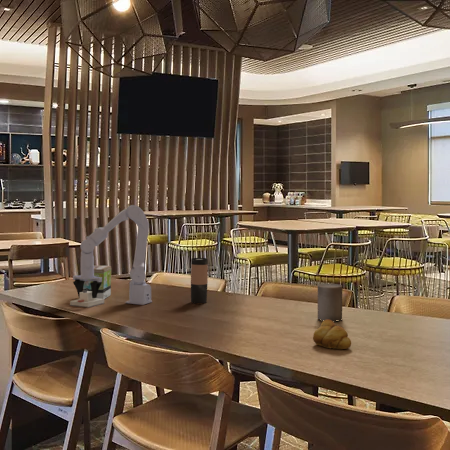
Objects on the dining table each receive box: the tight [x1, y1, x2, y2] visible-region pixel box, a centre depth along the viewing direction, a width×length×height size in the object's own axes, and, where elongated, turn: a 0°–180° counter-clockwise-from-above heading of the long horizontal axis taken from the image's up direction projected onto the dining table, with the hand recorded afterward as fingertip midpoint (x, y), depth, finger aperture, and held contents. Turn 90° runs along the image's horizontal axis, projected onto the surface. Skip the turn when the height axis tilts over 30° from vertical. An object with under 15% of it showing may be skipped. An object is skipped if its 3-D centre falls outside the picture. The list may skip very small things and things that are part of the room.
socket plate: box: [69, 298, 105, 309], centre depth 250 cm, size 10×11×3 cm
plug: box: [79, 290, 95, 302], centre depth 249 cm, size 4×5×6 cm
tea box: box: [83, 265, 112, 300], centre depth 267 cm, size 15×10×15 cm, turn 179°
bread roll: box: [312, 319, 352, 350], centre depth 182 cm, size 13×10×8 cm
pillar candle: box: [317, 282, 343, 321], centre depth 222 cm, size 10×10×15 cm
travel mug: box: [190, 257, 209, 304], centre depth 257 cm, size 8×8×20 cm
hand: (87, 297), depth 249 cm, fingers open, 7 cm apart
